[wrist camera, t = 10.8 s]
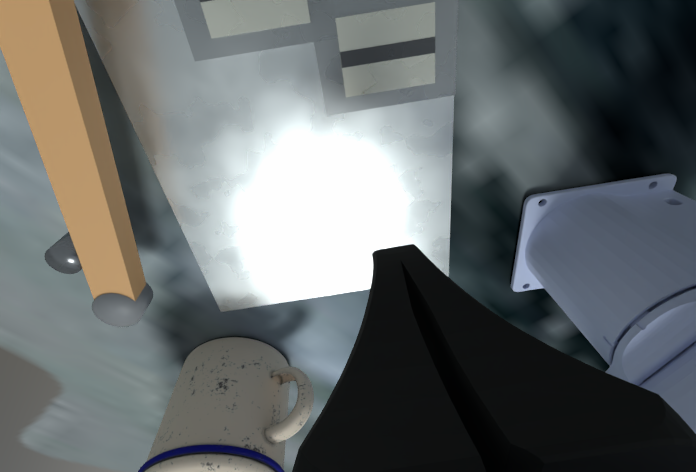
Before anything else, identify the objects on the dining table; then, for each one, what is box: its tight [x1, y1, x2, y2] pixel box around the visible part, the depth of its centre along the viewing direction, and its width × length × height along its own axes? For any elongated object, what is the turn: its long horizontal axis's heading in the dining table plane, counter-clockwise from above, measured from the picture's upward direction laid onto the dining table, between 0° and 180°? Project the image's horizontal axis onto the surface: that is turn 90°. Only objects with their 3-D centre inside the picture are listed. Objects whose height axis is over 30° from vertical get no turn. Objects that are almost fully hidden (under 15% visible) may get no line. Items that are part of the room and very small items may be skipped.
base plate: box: [45, 0, 458, 312], centre depth 17 cm, size 21×22×4 cm
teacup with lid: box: [138, 337, 314, 472], centre depth 24 cm, size 12×9×12 cm
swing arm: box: [0, 0, 153, 327], centre depth 15 cm, size 20×3×4 cm, turn 173°
